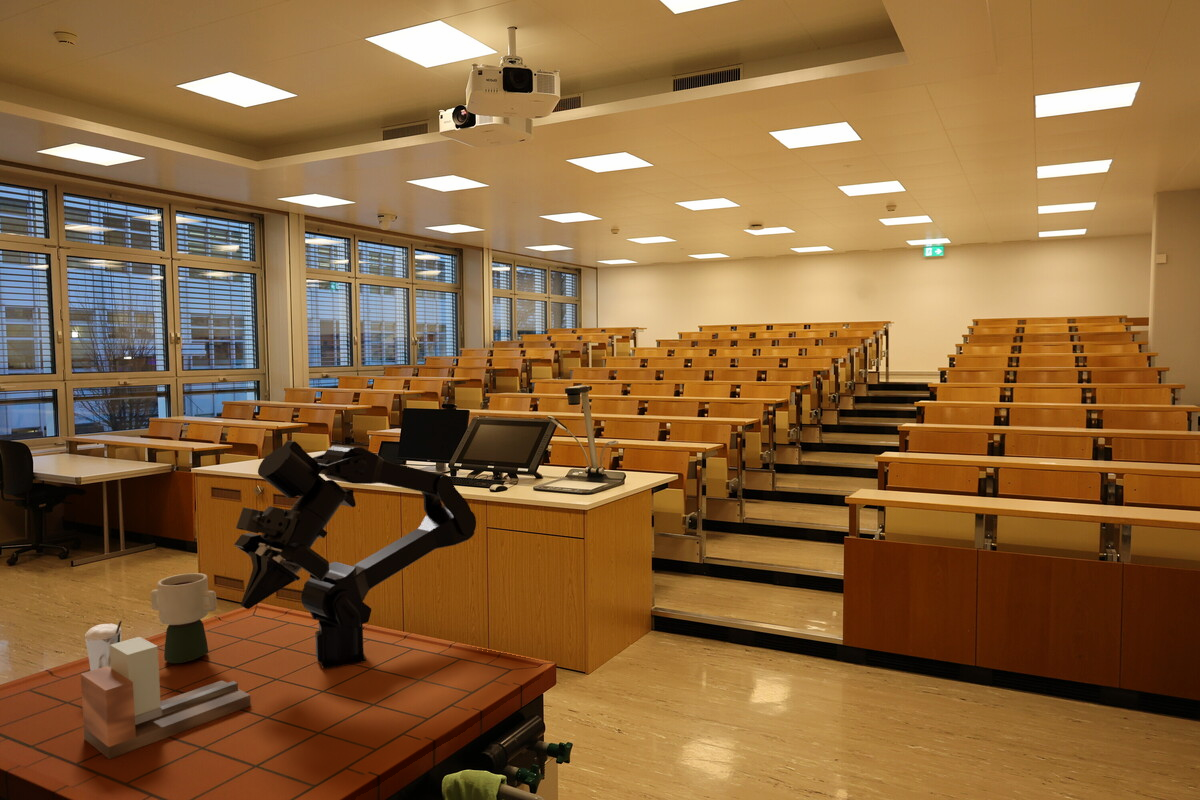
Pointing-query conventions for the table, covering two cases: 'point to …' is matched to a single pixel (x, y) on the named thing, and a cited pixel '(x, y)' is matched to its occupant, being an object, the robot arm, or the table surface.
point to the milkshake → (101, 644)
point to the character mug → (184, 614)
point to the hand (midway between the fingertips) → (244, 607)
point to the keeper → (139, 675)
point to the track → (115, 719)
